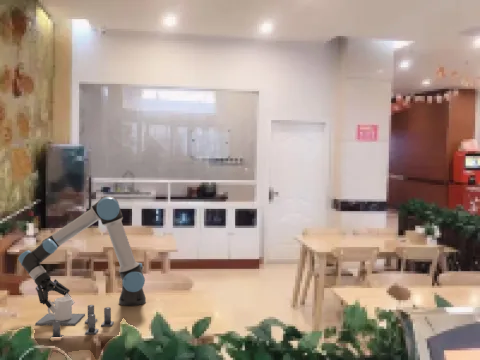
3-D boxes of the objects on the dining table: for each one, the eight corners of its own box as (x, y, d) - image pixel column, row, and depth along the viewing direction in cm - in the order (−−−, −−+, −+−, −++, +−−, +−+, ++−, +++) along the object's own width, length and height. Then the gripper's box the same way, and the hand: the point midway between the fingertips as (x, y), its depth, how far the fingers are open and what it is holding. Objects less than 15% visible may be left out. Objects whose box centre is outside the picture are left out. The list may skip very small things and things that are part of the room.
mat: (84, 315, 272) (84, 313, 272) (75, 325, 256) (75, 323, 256) (47, 315, 272) (47, 313, 272) (35, 325, 256) (35, 323, 256)
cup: (69, 321, 259) (69, 301, 259) (45, 321, 258) (45, 301, 258) (73, 316, 267) (73, 296, 267) (50, 316, 267) (50, 297, 266)
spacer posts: (115, 320, 263) (115, 304, 263) (100, 341, 234) (100, 322, 233) (70, 320, 263) (70, 304, 263) (49, 340, 234) (48, 322, 234)
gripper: (52, 276, 280) (75, 305, 275) (18, 286, 256) (43, 319, 252) (60, 267, 278) (83, 297, 273) (26, 277, 254) (51, 310, 250)
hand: (64, 307), depth 263 cm, fingers open, 13 cm apart
